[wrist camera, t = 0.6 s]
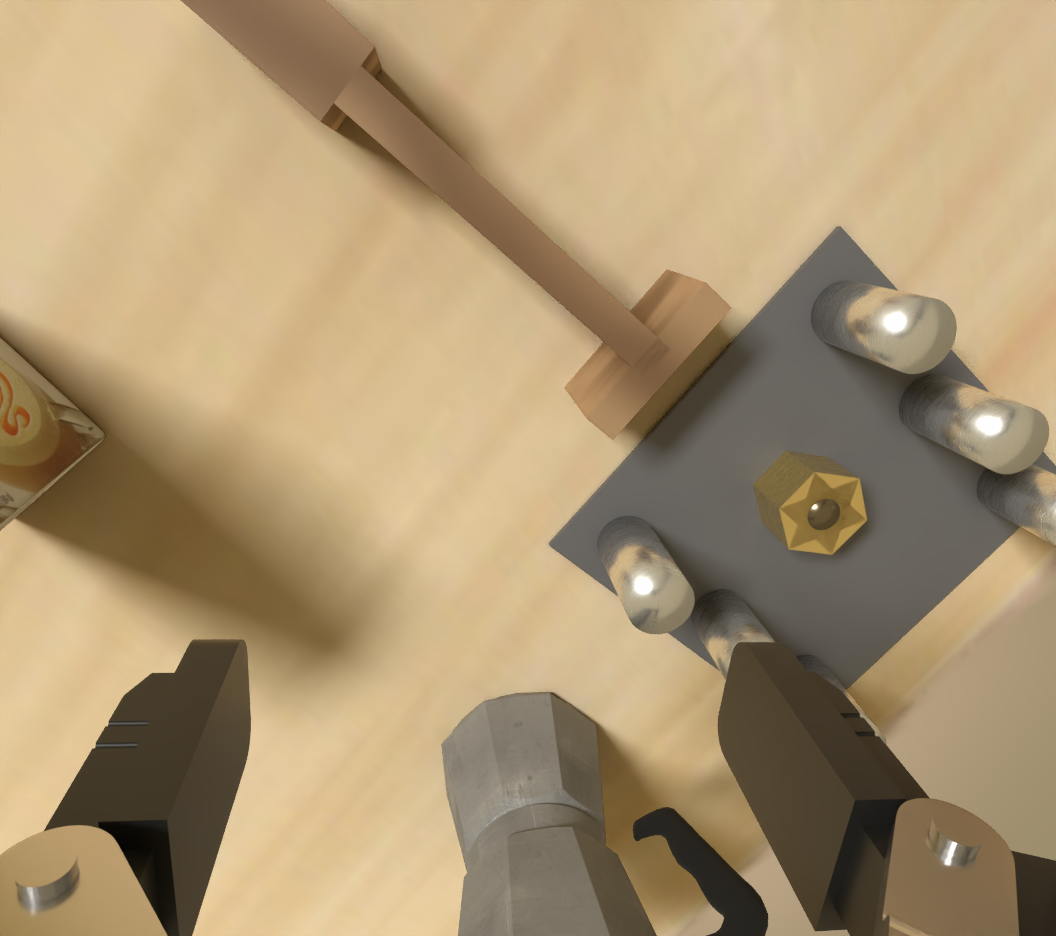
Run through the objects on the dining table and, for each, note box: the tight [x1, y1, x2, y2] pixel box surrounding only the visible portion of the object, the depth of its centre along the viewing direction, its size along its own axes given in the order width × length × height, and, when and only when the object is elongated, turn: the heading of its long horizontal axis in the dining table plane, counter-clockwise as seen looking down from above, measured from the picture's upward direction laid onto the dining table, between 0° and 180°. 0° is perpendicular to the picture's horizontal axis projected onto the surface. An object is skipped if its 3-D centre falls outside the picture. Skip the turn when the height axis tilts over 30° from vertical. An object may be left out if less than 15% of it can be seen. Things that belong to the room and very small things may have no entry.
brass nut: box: [753, 451, 867, 555], centre depth 37 cm, size 5×4×3 cm
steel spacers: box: [597, 280, 1056, 744], centre depth 36 cm, size 18×17×6 cm
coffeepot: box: [442, 693, 768, 936], centre depth 34 cm, size 15×9×18 cm, turn 115°
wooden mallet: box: [181, 0, 731, 440], centre depth 29 cm, size 7×22×5 cm, turn 49°
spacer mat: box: [549, 226, 1056, 690], centre depth 39 cm, size 20×20×1 cm
